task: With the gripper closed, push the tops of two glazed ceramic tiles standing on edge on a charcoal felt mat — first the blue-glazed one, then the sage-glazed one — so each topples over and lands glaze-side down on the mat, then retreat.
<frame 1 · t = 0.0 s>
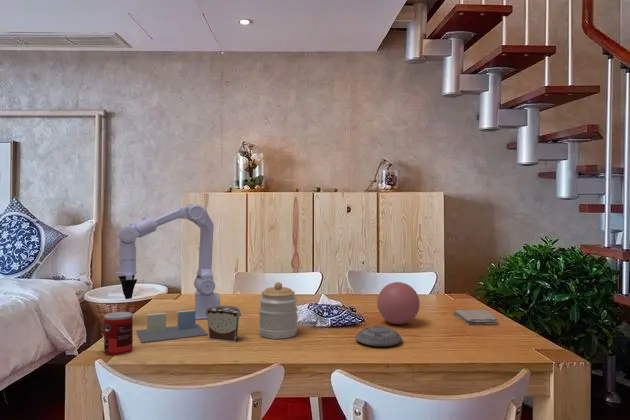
hand: (127, 296, 172), 10 cm above the table, tool pointing down, fingers open, 7 cm apart
jar: (278, 334, 160), on the table
balloon: (396, 322, 177), on the table
mat: (171, 333, 160), on the table
food container: (226, 338, 155), on the table
tile blue: (186, 328, 165), resting on mat
canned food: (118, 352, 141), on the table
flying saucer: (378, 343, 152), on the table
washcloth: (475, 321, 181), on the table
tile sage: (156, 331, 161), resting on mat
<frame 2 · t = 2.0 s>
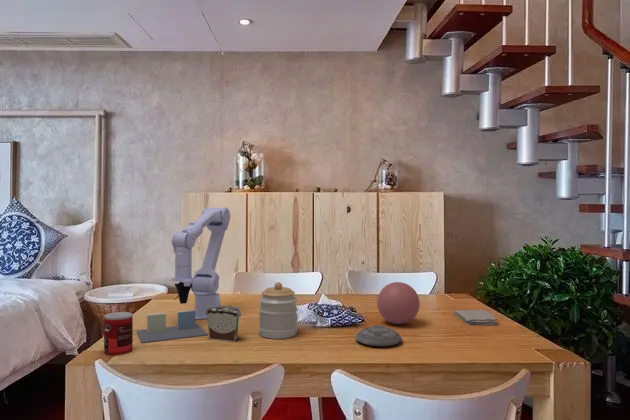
hand: (183, 303, 170), 8 cm above the table, tool pointing down, fingers closed
nothing on the table moved.
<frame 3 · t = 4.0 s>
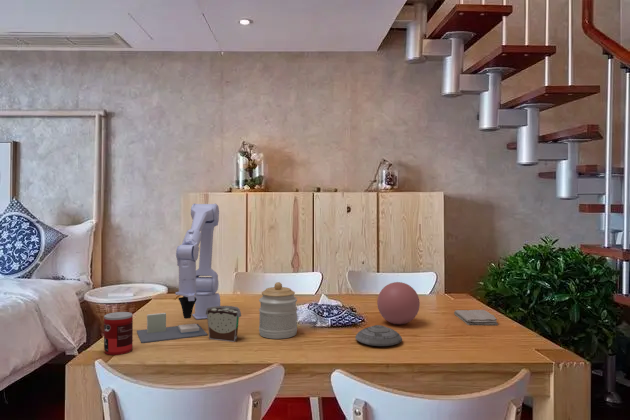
hand: (187, 318, 164), 4 cm above the table, tool pointing down, fingers closed
tile blue: (186, 326, 165), point 1 cm above the table, tilted 90°, touching mat
everything else where it was.
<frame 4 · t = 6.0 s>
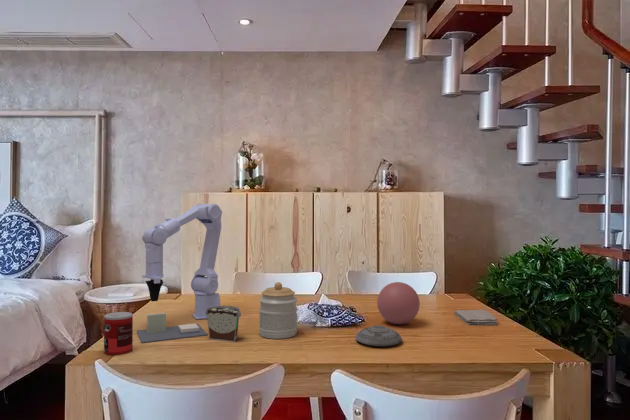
hand: (154, 300, 166), 10 cm above the table, tool pointing down, fingers closed
nothing on the table moved.
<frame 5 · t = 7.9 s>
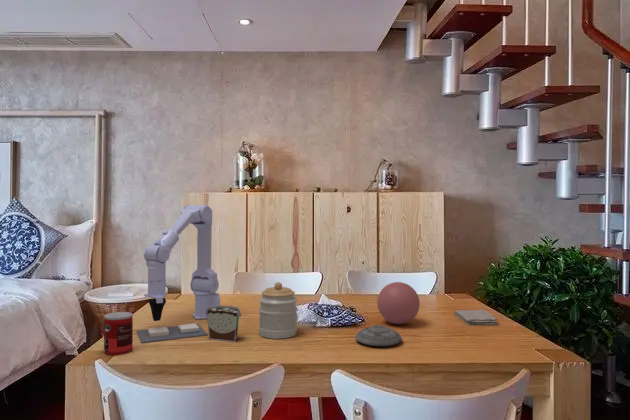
hand: (156, 320, 160), 4 cm above the table, tool pointing down, fingers closed
tile sage: (156, 329, 160), point 1 cm above the table, tilted 91°, touching mat
everything else where it was.
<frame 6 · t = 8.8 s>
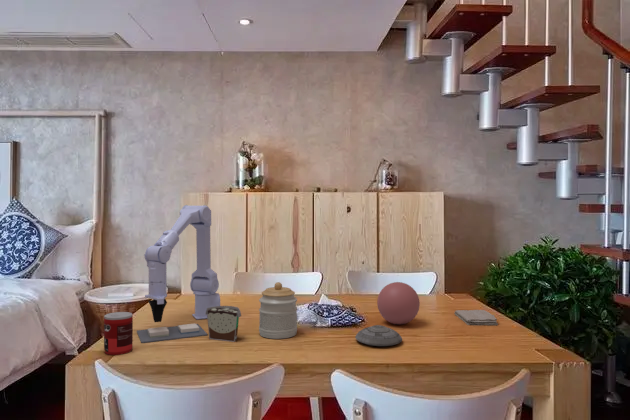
hand: (157, 321, 159), 4 cm above the table, tool pointing down, fingers closed
nothing on the table moved.
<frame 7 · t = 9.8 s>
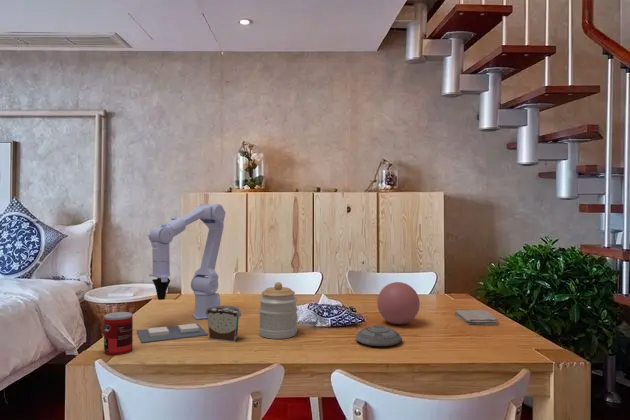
hand: (161, 299, 167), 10 cm above the table, tool pointing down, fingers closed
nothing on the table moved.
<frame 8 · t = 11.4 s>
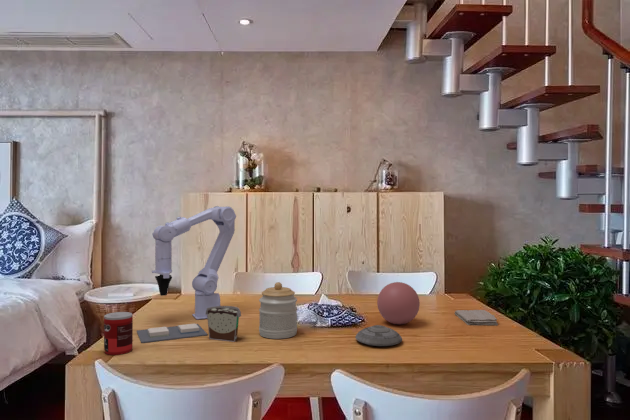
hand: (163, 295, 173), 10 cm above the table, tool pointing down, fingers closed
nothing on the table moved.
at the end: tile blue tilted 90°; tile sage tilted 90°; tile blue inside the target area on the mat (5.9 cm from its centre), point 1.2 cm above the mat's base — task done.
